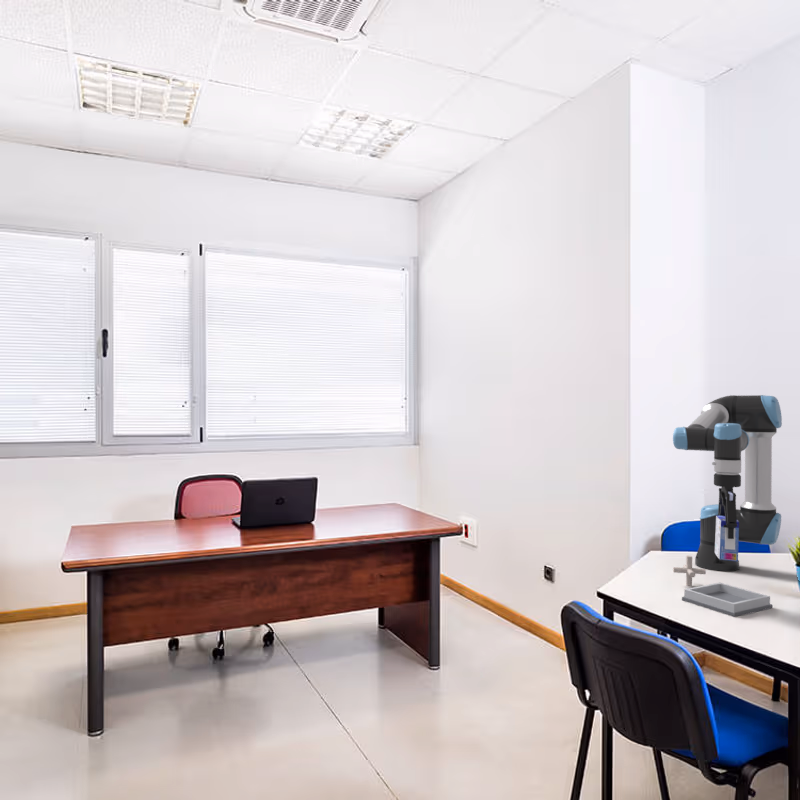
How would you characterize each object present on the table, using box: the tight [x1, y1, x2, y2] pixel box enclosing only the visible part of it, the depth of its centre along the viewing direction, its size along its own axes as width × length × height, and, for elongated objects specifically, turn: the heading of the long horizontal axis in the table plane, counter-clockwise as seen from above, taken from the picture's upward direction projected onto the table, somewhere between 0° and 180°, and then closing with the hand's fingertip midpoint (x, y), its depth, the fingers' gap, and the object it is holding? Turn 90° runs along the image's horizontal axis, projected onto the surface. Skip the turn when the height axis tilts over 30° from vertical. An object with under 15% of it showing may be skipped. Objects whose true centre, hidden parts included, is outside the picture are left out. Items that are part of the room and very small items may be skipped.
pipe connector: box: [672, 555, 706, 587], centre depth 225 cm, size 10×10×10 cm
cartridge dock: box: [681, 582, 774, 618], centre depth 205 cm, size 18×18×4 cm
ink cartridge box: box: [715, 516, 739, 561], centre depth 205 cm, size 10×6×14 cm, turn 163°
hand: (726, 545), depth 205 cm, fingers closed on ink cartridge box, 10 cm apart
